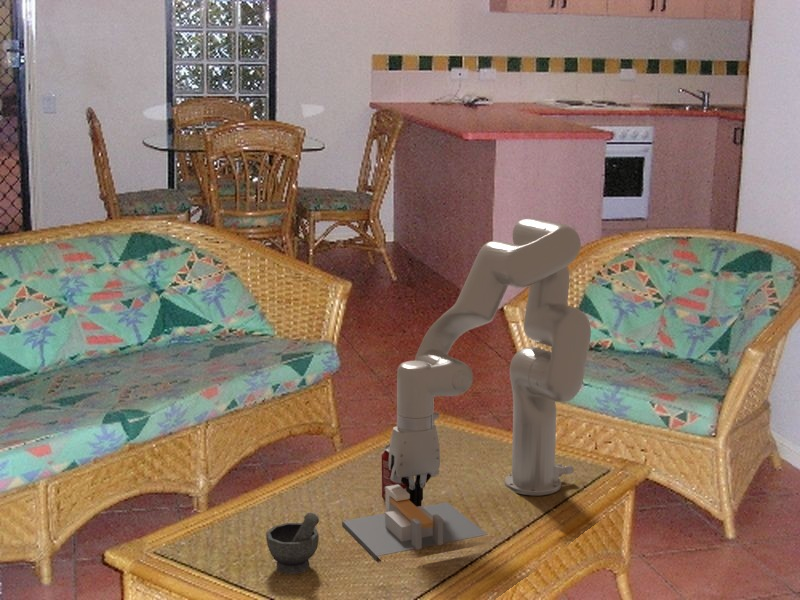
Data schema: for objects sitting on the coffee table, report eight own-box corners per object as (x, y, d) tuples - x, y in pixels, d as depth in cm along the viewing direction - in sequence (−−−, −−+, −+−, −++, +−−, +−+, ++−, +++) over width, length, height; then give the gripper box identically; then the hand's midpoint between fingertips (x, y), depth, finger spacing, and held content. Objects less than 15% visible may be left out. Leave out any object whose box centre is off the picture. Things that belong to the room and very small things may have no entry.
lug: (398, 511, 241) (398, 484, 240) (409, 521, 236) (409, 493, 235) (385, 513, 240) (385, 486, 239) (396, 523, 235) (396, 496, 234)
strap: (403, 499, 238) (403, 495, 238) (433, 526, 226) (433, 522, 226) (390, 502, 237) (390, 497, 237) (419, 529, 225) (419, 524, 224)
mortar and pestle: (256, 568, 218) (255, 508, 216) (291, 551, 225) (289, 493, 223) (300, 585, 211) (299, 524, 209) (334, 567, 219) (333, 508, 216)
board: (446, 507, 247) (447, 478, 245) (488, 540, 230) (489, 510, 229) (342, 526, 237) (341, 496, 235) (378, 562, 220) (377, 531, 219)
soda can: (409, 507, 247) (409, 454, 244) (378, 504, 248) (378, 452, 245) (415, 495, 253) (415, 443, 250) (385, 493, 254) (385, 441, 252)
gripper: (439, 411, 244) (439, 492, 248) (374, 420, 238) (374, 504, 242) (456, 421, 237) (454, 505, 241) (389, 431, 231) (389, 517, 235)
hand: (414, 504), depth 241 cm, fingers closed
